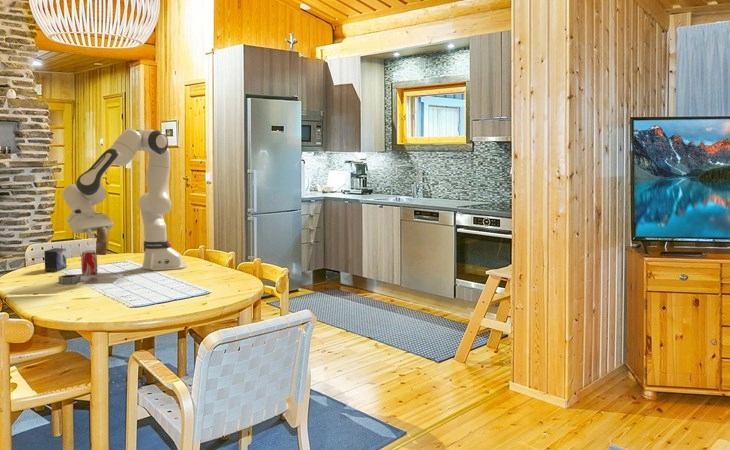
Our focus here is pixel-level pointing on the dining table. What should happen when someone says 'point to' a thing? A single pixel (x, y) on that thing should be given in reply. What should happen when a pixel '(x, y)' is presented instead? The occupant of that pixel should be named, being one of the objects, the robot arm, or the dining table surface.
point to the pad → (101, 280)
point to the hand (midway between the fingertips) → (100, 237)
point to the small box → (55, 259)
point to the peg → (101, 241)
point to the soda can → (89, 263)
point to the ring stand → (69, 280)
